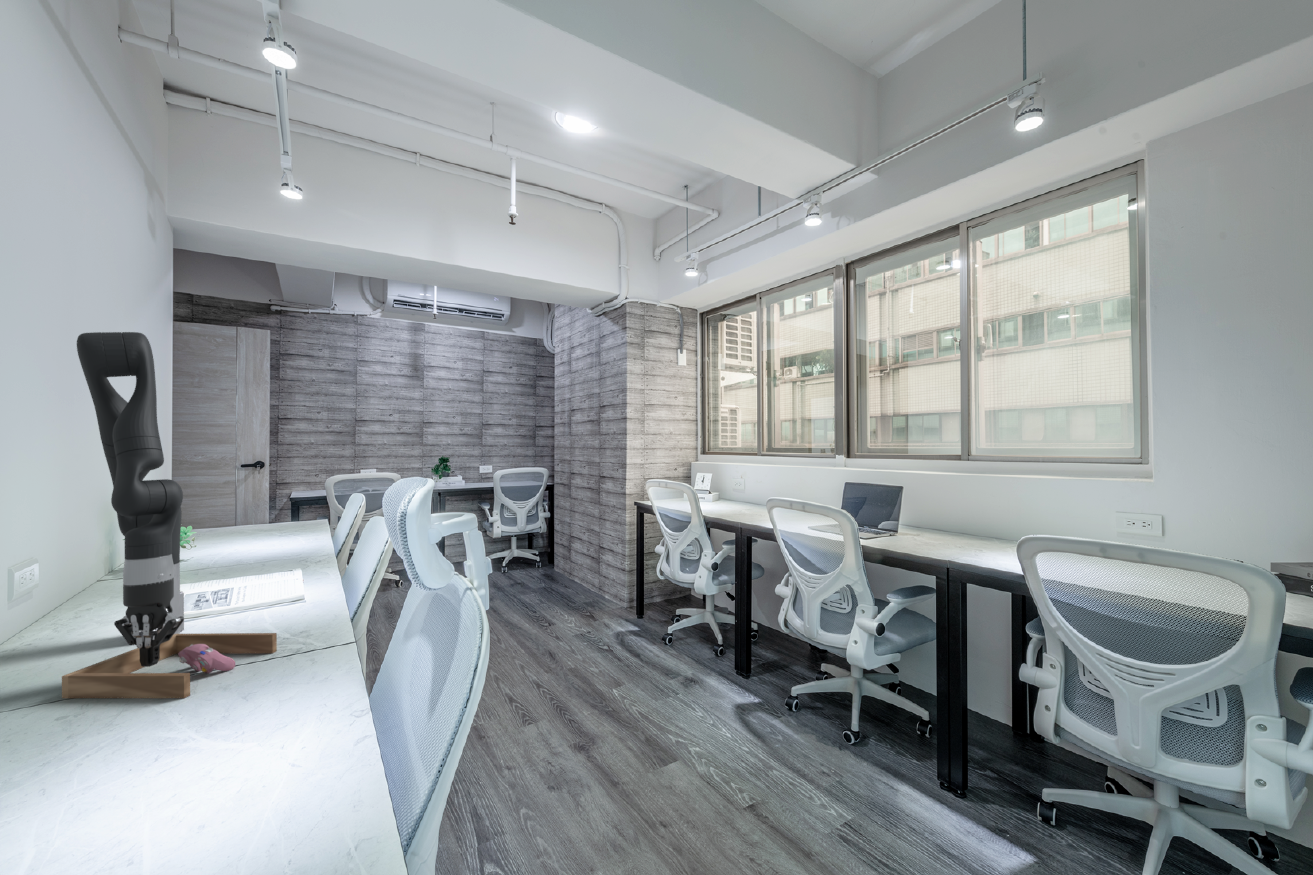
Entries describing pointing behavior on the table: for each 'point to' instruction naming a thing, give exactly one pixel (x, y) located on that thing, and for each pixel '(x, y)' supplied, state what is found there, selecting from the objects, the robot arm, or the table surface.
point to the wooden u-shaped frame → (120, 683)
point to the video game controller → (205, 658)
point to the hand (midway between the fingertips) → (149, 665)
